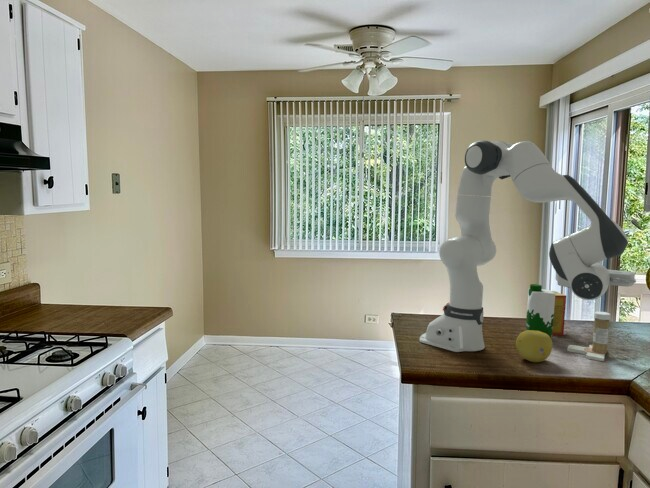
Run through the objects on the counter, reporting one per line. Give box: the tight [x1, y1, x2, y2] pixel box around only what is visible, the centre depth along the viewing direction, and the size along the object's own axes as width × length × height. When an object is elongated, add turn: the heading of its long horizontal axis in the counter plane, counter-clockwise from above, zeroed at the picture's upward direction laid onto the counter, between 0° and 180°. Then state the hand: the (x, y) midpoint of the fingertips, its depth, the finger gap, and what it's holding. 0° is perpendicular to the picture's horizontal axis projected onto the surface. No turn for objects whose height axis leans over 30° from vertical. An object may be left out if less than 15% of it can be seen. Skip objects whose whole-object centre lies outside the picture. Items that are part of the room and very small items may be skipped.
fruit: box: [515, 329, 553, 363], centre depth 146 cm, size 10×11×10 cm
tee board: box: [567, 344, 606, 362], centre depth 155 cm, size 11×14×1 cm
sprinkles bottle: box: [592, 311, 611, 354], centre depth 152 cm, size 5×5×13 cm
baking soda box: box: [551, 290, 567, 336], centre depth 179 cm, size 10×6×16 cm
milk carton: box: [525, 283, 555, 339], centre depth 171 cm, size 9×9×20 cm
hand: (595, 272), depth 139 cm, fingers open, 8 cm apart
